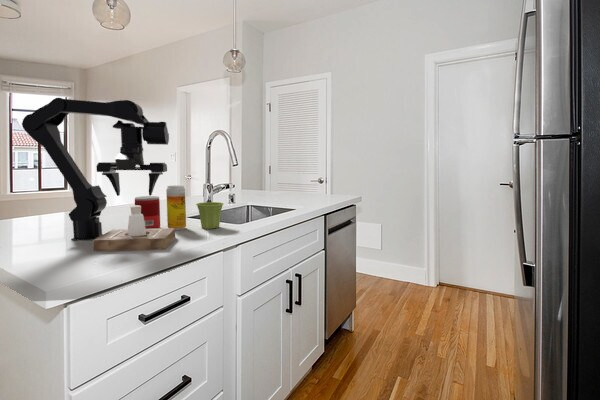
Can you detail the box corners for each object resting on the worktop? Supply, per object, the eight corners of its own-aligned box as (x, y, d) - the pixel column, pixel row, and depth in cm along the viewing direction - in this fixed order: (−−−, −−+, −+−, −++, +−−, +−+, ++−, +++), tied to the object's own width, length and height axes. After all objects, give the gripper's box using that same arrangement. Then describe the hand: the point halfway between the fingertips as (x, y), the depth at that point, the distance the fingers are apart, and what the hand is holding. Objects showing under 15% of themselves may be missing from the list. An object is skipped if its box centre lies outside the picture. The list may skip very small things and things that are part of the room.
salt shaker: (129, 242, 102) (127, 204, 100) (149, 241, 103) (147, 204, 102) (124, 246, 97) (123, 207, 95) (146, 245, 98) (144, 207, 97)
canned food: (165, 227, 124) (164, 196, 123) (148, 231, 117) (147, 198, 116) (148, 225, 127) (146, 195, 126) (130, 229, 119) (129, 197, 118)
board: (93, 251, 92) (92, 239, 91) (113, 239, 105) (112, 229, 105) (165, 249, 94) (164, 237, 94) (175, 237, 108) (174, 227, 108)
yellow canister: (180, 231, 118) (178, 186, 116) (164, 230, 119) (162, 186, 117) (189, 227, 124) (188, 185, 122) (173, 226, 125) (172, 185, 123)
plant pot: (199, 225, 129) (198, 201, 128) (225, 224, 130) (224, 201, 129) (194, 230, 119) (193, 205, 118) (222, 230, 120) (222, 205, 119)
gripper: (86, 142, 96) (90, 198, 97) (158, 143, 98) (160, 198, 100) (102, 144, 106) (105, 194, 108) (166, 145, 109) (168, 194, 111)
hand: (134, 195), depth 107 cm, fingers open, 9 cm apart
